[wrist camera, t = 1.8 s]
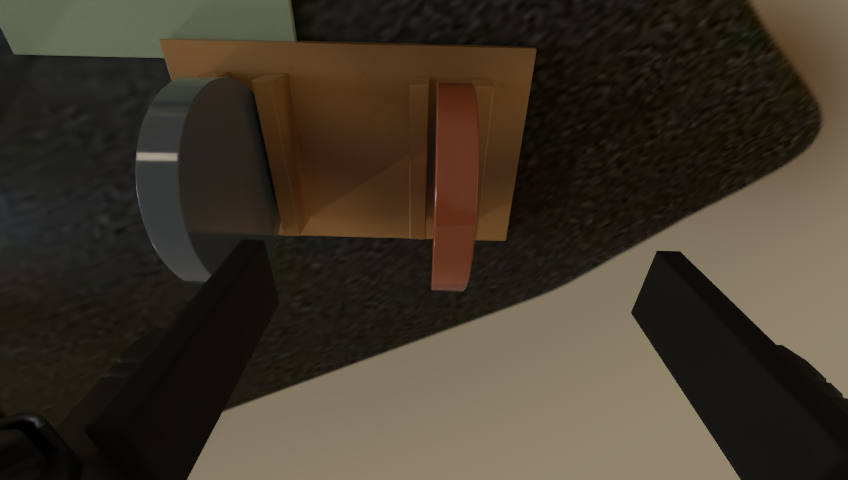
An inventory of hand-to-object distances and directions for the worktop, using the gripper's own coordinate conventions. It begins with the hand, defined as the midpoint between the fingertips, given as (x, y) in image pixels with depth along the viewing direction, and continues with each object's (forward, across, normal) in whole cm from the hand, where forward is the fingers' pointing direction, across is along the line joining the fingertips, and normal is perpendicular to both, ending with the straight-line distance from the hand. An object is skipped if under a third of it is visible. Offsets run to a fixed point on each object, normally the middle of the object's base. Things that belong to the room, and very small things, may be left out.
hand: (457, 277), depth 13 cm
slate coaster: (+7, -11, 0) cm, 13 cm away
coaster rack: (+13, -6, 0) cm, 14 cm away
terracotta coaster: (+7, 0, 0) cm, 7 cm away
